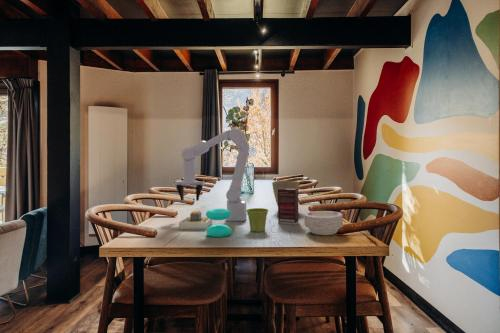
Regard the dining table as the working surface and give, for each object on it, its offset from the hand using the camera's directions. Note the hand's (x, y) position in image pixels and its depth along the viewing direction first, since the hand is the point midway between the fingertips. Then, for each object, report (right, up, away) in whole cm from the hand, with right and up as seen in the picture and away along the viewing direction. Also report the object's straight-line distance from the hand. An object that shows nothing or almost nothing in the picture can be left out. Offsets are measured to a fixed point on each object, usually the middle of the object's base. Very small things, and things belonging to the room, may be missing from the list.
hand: (189, 200), depth 172 cm
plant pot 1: (+33, -11, -25) cm, 42 cm away
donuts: (+17, -11, -31) cm, 37 cm away
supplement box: (+47, -10, -11) cm, 49 cm away
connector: (+5, -9, -16) cm, 19 cm away
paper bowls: (+59, -10, -31) cm, 68 cm away
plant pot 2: (+49, -8, +20) cm, 54 cm away
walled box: (+5, -10, -16) cm, 20 cm away
